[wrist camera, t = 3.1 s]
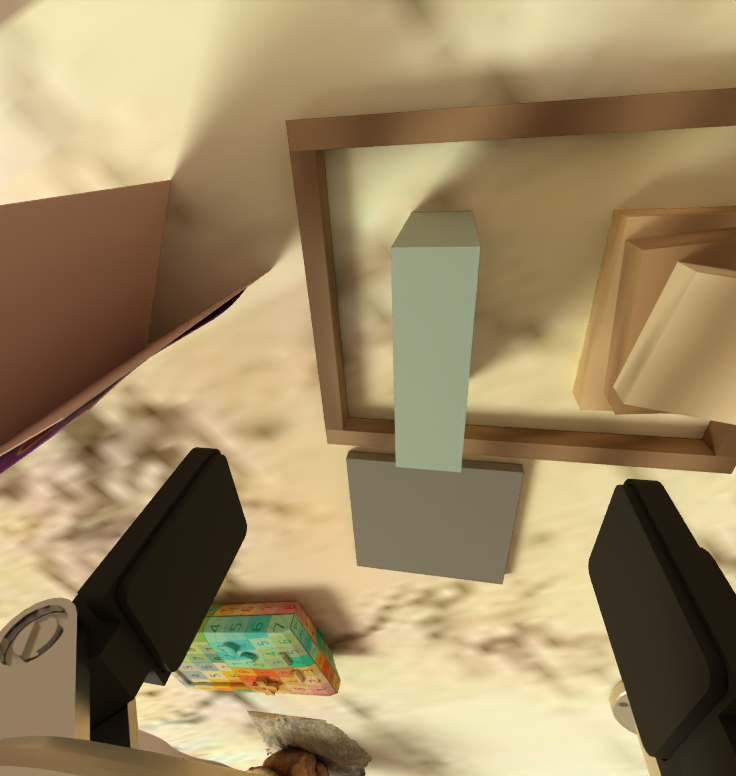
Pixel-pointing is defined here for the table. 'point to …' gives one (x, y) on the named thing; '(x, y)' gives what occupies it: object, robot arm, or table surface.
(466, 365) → the pale teal block
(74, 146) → the table surface
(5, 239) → the greeting card
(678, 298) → the offcut small
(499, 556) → the mat
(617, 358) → the offcut mid
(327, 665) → the puzzle game
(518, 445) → the brown wooden frame
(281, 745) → the cherub figurine
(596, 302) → the offcut large
